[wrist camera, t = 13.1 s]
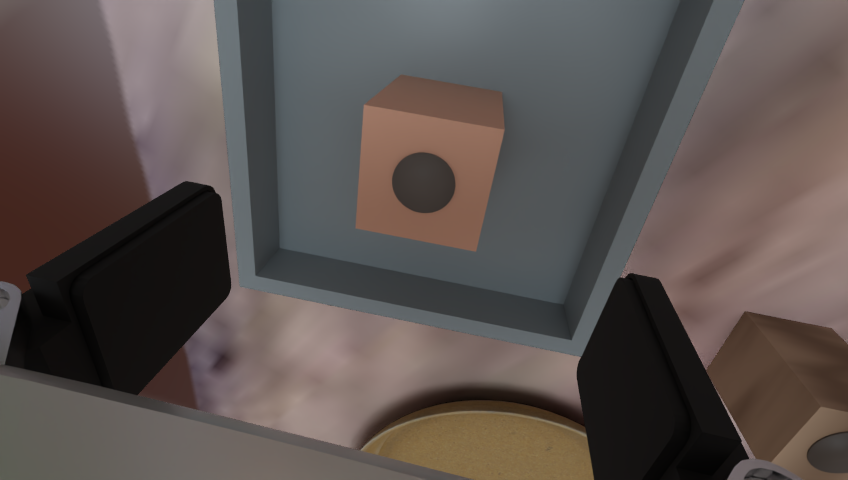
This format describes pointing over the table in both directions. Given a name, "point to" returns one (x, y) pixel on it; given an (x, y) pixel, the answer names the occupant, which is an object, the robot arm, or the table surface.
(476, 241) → the terracotta block
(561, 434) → the plant saucer
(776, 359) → the walnut block
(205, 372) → the table surface
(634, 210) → the tray
